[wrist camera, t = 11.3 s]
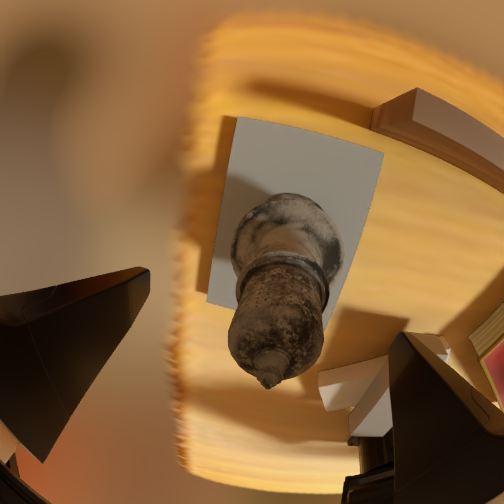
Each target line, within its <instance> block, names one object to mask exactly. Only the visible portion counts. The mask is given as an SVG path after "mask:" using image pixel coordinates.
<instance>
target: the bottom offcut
mask: <svg viewBox="0 0 504 504" xmlns="http://www.w3.org/2000/svg"><path fill="white" fill-rule="evenodd" d="M439 339H440V341H441V342H442V344H443V346H444V348H445V350H446V352H447V353H448V357H447V358H446V360H445V361H444V362H445V363H447V364H449V357H450V349H451V348H450V346H449V344H448V343H447V341H446V339H445V338H444V336H440V337H439ZM387 358H388V355H384V356H381V357H378V358H374V359H370V360H367V361H363V362H359V363H355V364H351V365H347V366H343V367H339V368H335V369H330V370H326V371H321V372H318V389H319V392H320V395H321V398H322V401H323V404H324V407H325V410H326V412H330V411H335V410H340V409H345V408H349V407H354V406H356V405H357V404H358V402H359V401H360V400H361V398H362V397H363V395H364V394H365V392H366V391H367V389H368V388H369V386H370V385H371V383H372V382H373V380H374V379H375V377H376V376H377V374H378V373H379V371H380V369H381V368H382V366H383V365H384V363H385V361H386V360H387Z"/></svg>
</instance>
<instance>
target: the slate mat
mask: <svg viewBox="0 0 504 504" xmlns="http://www.w3.org/2000/svg"><path fill="white" fill-rule="evenodd" d="M383 157H384V153H382V152H379V151H376V150H373V149H370V148H367V147H364V146H361V145H358V144H354V143H351V142H348V141H345V140H341V139H338V138H334V137H331V136H327V135H323V134H320V133H316V132H312V131H308V130H304V129H300V128H295V127H291V126H286V125H282V124H277V123H272V122H267V121H262V120H256V119H250V118H244V117H238V118H237V123H236V128H235V133H234V138H233V143H232V148H231V153H230V159H229V164H228V169H227V175H226V180H225V186H224V191H223V197H222V203H221V209H220V215H219V221H218V227H217V233H216V239H215V246H214V252H213V259H212V265H211V272H210V279H209V286H208V294H207V301H206V302H208V303H212V304H215V305H219V306H223V307H226V308H230V309H233V310H236V309H237V307H238V303H237V300H236V296H235V289H236V282H237V279H238V278H237V276H236V274H235V272H234V270H233V266H232V263H231V259H230V244H231V240H232V237H233V234H234V230H235V229H236V227H237V226H238V224H239V223H240V221H241V220H242V218H243V217H244V216H245V215H246V214H248V213H249V212H250V211H251V210H252V209H253V208H255V207H257V206H259V205H261V204H262V203H263V202H264V201H265V200H267V199H269V198H271V197H273V196H275V195H280V194H285V193H291V194H299V195H302V196H305V197H308V198H310V199H311V200H313V201H314V202H316V203H317V204H318V205H319V206H320V207H321V208H322V209H323V211H324V212H325V213H327V214H328V215H329V216H330V218H331V219H332V220H333V222H334V223H335V224H336V225H337V227H338V229H339V231H340V234H341V236H342V239H343V242H344V251H345V258H344V263H343V269H342V271H341V273H340V275H339V277H338V279H337V281H336V283H335V284H334V285H333V286H332V287H331V288H330V296H329V301H328V305H327V307H326V308H325V310H324V312H323V314H322V321H323V331H325V329H326V327H327V325H328V322H329V320H330V317H331V315H332V313H333V310H334V308H335V305H336V303H337V300H338V298H339V295H340V293H341V290H342V288H343V285H344V283H345V280H346V277H347V275H348V272H349V269H350V266H351V264H352V261H353V258H354V255H355V252H356V249H357V246H358V243H359V241H360V237H361V234H362V231H363V228H364V225H365V222H366V219H367V215H368V212H369V209H370V205H371V202H372V199H373V195H374V191H375V188H376V184H377V180H378V177H379V173H380V169H381V165H382V161H383Z"/></svg>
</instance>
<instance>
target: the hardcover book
mask: <svg viewBox="0 0 504 504" xmlns="http://www.w3.org/2000/svg"><path fill="white" fill-rule="evenodd" d="M469 339H470V340H471V342H472V344H473V346H474V348H475V350H476V352H477V354H478V356H479V357H478V358H477V359H478V361H479V363H480V364H481V366H482V368H483V370H484V373H485V375H486V377H487V379H488V381H489V383H490V385H491V387H492V390H493V392H494V394H495V397H496V399H497V401H498V404H499V406H500V409H501V411H502V412H504V302H503V303H502V304H501V305H500V306H499V307H498V309H497V310H496V311H495V312H494V313H493V314H492V315H491V316H490V317H489V318H488V319H487V320H486V321H485V322H484V323H483V324H482V325H481V326H480V327H478V328H477V329H476V330H475V331H474V332H473V333H472V334H471V335H470V336H469Z"/></svg>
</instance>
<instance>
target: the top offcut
mask: <svg viewBox="0 0 504 504" xmlns="http://www.w3.org/2000/svg"><path fill="white" fill-rule="evenodd" d="M403 332H406V331H403ZM409 333H411V334H412V335H414V336H415V337H416V338H417V339H418V340H420V341H421V342H422V343H423V344H424V345H425V346H427V347H428V348H429V349H430V350H431V351H433V352H434V353H435V354H436V355H437V356H438V357H440V358H441V359H442V360H443V361H445V360H446V358H447V357H448V353H447V352H446V350H445V348H444V346H443V344H442V342H441V341H440V339H439V337H438V336H436V335H428V334H420V333H413V332H409ZM348 420H349V433H350V436H384V435H385V434H386V433H387V432H388V431H389V430H390V429H391V427H392V426H393V424H392V412H391V402H390V393H389V367H388V358H387V360H386V361H385V363H384V365H383V366H382V368H381V369H380V371H379V373H378V374H377V376H376V377H375V379H374V380H373V382H372V383H371V385H370V386H369V388H368V389H367V391H366V392H365V394H364V395H363V397H362V398H361V400H360V401H359V402H358V404H357V405H356V407H355V408H354V409H353V411H352V412H351V413H350V415H349V416H348Z"/></svg>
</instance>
